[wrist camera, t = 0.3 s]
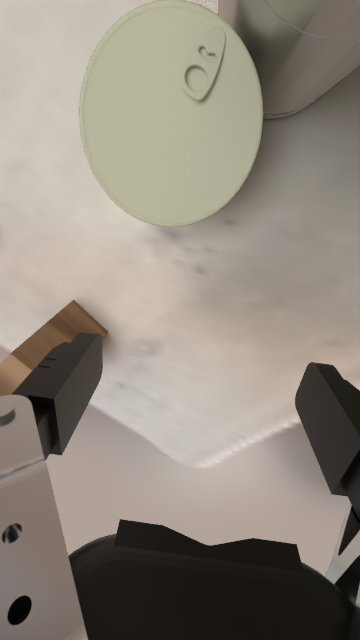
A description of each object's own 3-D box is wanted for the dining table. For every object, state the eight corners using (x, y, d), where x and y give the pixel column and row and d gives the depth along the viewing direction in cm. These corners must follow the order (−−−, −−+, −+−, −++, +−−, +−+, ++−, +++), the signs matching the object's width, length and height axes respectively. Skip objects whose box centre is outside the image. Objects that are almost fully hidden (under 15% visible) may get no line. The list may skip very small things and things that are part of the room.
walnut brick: (73, 299, 32) (10, 353, 22) (107, 331, 33) (62, 394, 23) (47, 325, 34) (-20, 384, 24) (81, 354, 35) (30, 420, 26)
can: (266, 130, 22) (312, 88, 12) (201, 228, 26) (191, 261, 16) (172, 52, 21) (127, -78, 10) (118, 169, 25) (46, 162, 14)
